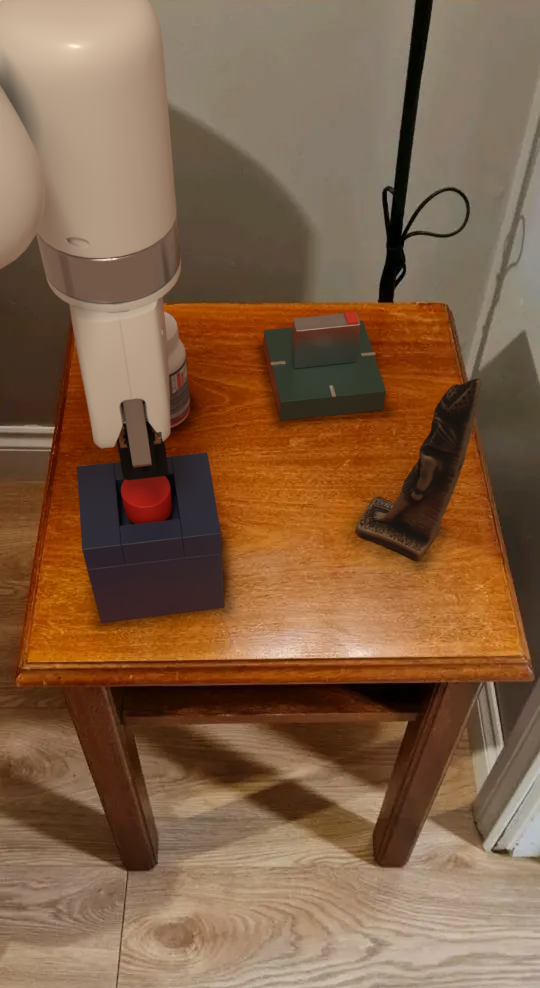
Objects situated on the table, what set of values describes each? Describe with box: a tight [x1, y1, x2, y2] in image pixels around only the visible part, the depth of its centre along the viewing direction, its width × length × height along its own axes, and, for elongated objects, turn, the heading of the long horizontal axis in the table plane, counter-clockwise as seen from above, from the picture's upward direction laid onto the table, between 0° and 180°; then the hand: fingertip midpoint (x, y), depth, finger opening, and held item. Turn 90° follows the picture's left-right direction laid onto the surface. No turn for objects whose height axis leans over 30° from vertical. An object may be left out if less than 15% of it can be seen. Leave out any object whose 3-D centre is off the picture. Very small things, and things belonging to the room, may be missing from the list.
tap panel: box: [262, 320, 387, 422], centre depth 88 cm, size 10×10×3 cm
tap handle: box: [291, 310, 360, 368], centre depth 85 cm, size 6×2×5 cm, turn 100°
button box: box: [76, 451, 225, 624], centre depth 72 cm, size 10×8×10 cm
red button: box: [121, 476, 172, 524], centre depth 67 cm, size 4×4×2 cm
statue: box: [355, 378, 482, 562], centre depth 70 cm, size 4×7×20 cm, turn 62°
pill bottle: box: [164, 310, 191, 429], centre depth 82 cm, size 6×6×10 cm
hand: (145, 469), depth 65 cm, fingers closed
